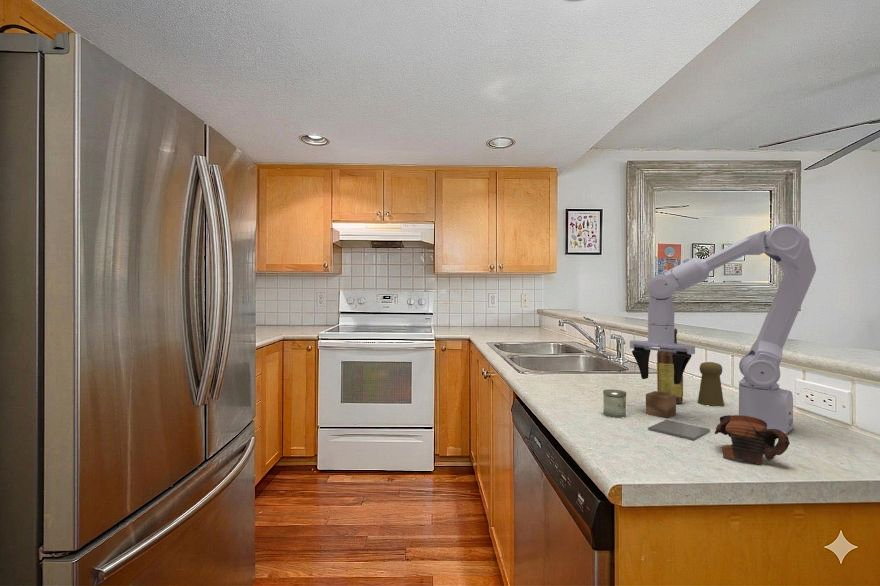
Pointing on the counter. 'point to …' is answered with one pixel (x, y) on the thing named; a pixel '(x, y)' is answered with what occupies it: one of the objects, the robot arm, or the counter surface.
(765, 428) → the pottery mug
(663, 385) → the sauce bottle
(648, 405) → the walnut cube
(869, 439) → the counter surface
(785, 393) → the robot arm
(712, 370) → the cork
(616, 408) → the green spice tin
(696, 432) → the slate tile
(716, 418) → the counter surface
